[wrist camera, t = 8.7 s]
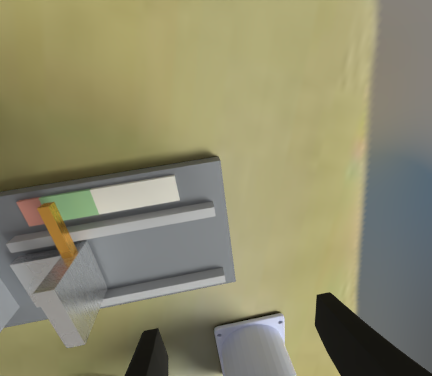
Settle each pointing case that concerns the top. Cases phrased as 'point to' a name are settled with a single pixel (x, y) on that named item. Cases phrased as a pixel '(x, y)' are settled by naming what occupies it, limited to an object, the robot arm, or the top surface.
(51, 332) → the top surface
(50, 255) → the gauge pointer slider
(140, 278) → the gauge base
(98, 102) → the top surface
